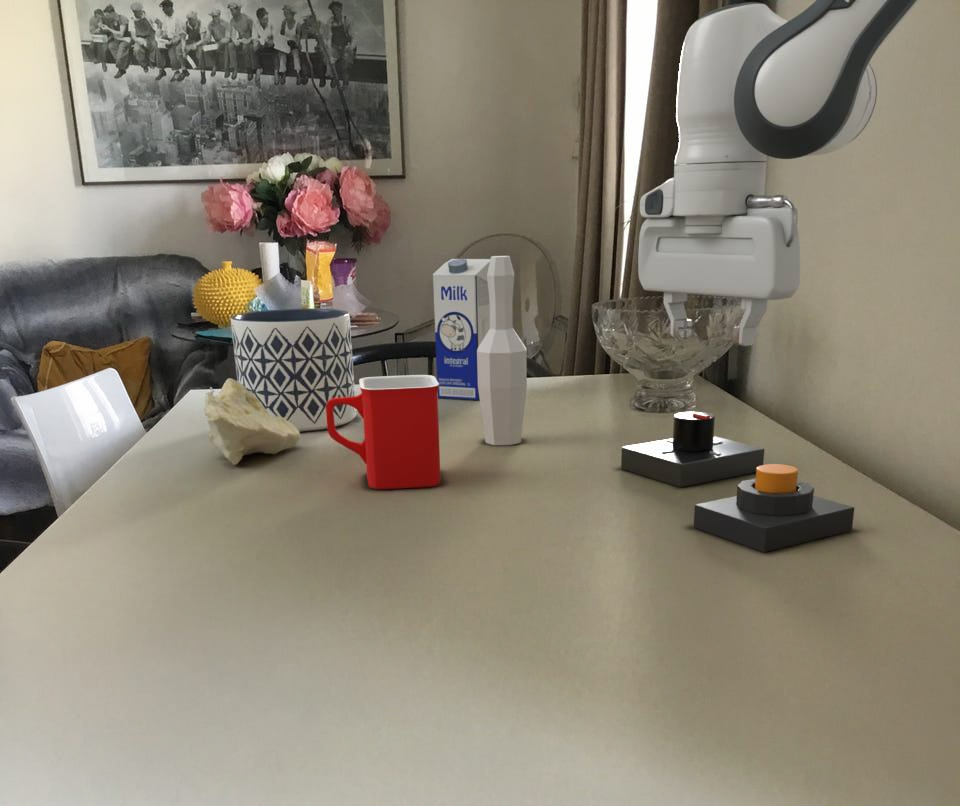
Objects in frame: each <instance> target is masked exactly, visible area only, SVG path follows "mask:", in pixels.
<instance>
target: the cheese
mask: <svg viewBox="0 0 960 806" xmlns="http://www.w3.org/2000/svg"><path fill="white" fill-rule="evenodd" d="M209 390H210V391H207V392H206V393H205V401H204V407H203V409H204V414H205V416H207V423H208V425H209V434H208V441H209V442H210V444H212V445H213V447H214V448H216V449H218V450H219V452H221V453H222V454H223V456H224V458H226V459H227V460H228V462H230V463H232V465H233V466H236V465H238V464H239V462H240V461H241V460H242V458H243V456H245V455H247V456H248V455H252V454H259V453H263V454H272V455H276V454H278V453H279V452H281V451H283V450H288V449H291V448H293V447H294V446H296V445H297V444H298V442H299V440H300V436H301V435H300V434H301V433H300V431H298V429H297V428H296V427H295V426H294V425H293V424H292V423H290V422H288V421H287V420H286V419H285V418H283V417H280V418H279V417H278V416H275V417H271V416H270V415H269V414H268V412H267V410H266V409H265V408H264V406H263V405H262V403H261V402H260V401H259V400H258V398H257V397H256V396H255V395H254V394H253V393H252V392H251V391H248V390H247V389H246V388H245V387H244V385H243V384H241V383H239V382H237V379H236V380H235V379H233V378H232V377H229V378H227V379H226V380H225V382H224V383H223V384H222V387H221V389H219V390H220V391H219V392H218V393H217V394H216V395H214V393H215V389H213V387H212V386H210V387H209Z"/></svg>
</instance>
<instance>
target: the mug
mask: <svg viewBox="0 0 960 806" xmlns="http://www.w3.org/2000/svg"><path fill="white" fill-rule="evenodd" d="M358 383H359V388H360V392H361V393H360V394H358V395H355V396H351V397H339V398H332V399H330V400H329V401H328V402H327V403H326V417H327V430H326V431H327V433H328V436H329V437H330V438H331V439H332V440H334V441H335V442H336V443H338V444H340V445H342V446H343V447H345V448H347V449H348V450H350V451H351V452H354V453H355V454H357V455H358V456H359V457H360V459H361V460H362V461H363V463H364V464H365V467H366V478H367V484H368V487H369V488H370V489H374V490H398V489H416V488H417V489H419V488H430V487H436V486H439V485H440V483H441V482H442V481H441V479H442V478H441V457H440V456H441V453H440V451H441V450H440V429H439V428H440V427H439V400H438V399H439V398H438V388H439V383H438V381H437V377H436V376H434V375H431V374H407V375H405V374H404V375H387V376H386V375H384V376H383V375H382V376H368V377H366V376H365V377H361V378H359V379H358ZM336 405H349V406H352V407H354V408H355V409H356V412H358V414H359V415H360V417H361V419H362V420H363V434H364V435H363V437H364V439H363V441H362V442H361V443H360V442H357V441H354V440H350V439H348V438H346V437H345V436H343V435H341V434H340V432H339V431H338V430H337V429H336V427H335V423H334V414H333V409H334V407H335V406H336Z"/></svg>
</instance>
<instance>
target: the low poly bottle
mask: <svg viewBox="0 0 960 806" xmlns="http://www.w3.org/2000/svg"><path fill="white" fill-rule="evenodd" d="M490 259H491V260H490V264H489V268H488V273H487V281H488V291H489V300H490V329H489V331H488V332H487V334H486V336H485V337H484V339H483V341H482V342H481V344H480V345H479V347H478V349H477V371H478V391H479V398H480V399H479V405H480V411H481V421H482V426H483V433H484V442H485V444H488V445H492V446H511V445H517V444H521V442H522V435H523V425H524V417H525V416H524V415H525V414H524V413H525V407H526V405H525V404H526V398H527V397H526V396H527V385H528V379H527V378H528V375H527V374H528V373H527V371H528V370H527V368H528V367H527V365H528V363H527V358H528V357H527V356H528V355H527V347H526V345H525V344H524V342H523V341H522V340H521V338H520V336H519V335H518V333H517V332H516V331H515V329H514V320H513V319H514V318H513V315H514V314H513V313H514V311H513V310H514V309H513V302H514V301H513V299H514V287H515V286H514V285H515V271H514V268H513V263H512V260H511V256H510V255H493V256H490Z"/></svg>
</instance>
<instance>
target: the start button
mask: <svg viewBox="0 0 960 806" xmlns="http://www.w3.org/2000/svg"><path fill="white" fill-rule="evenodd" d="M798 475H799V469H798V468H797V467H796V466H793V465H789V464H788V465H787V464H781V463H768V464H767V463H766V464H763V465H761V466H758V467H757V470H756V472H755V478H756V482H755V489H756V490H759V491H763V492H772V493H790V492H794V491H796V486H797V480H798Z"/></svg>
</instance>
